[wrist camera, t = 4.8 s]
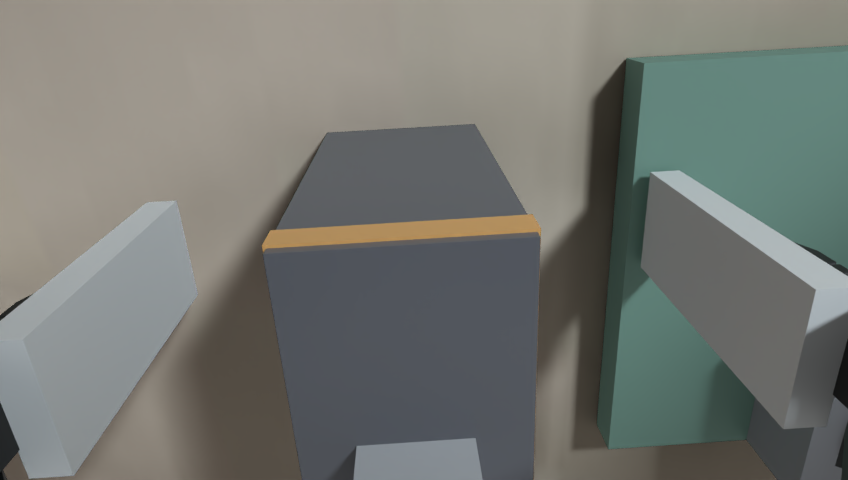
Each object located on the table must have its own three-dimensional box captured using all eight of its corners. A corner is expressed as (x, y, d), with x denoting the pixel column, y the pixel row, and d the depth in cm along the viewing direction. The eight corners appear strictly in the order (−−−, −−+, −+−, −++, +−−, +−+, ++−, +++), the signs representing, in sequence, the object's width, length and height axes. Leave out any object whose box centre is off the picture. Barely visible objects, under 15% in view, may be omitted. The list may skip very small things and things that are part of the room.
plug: (325, 131, 16) (237, 290, 7) (476, 122, 16) (565, 269, 7) (344, 297, 18) (293, 576, 9) (479, 289, 18) (551, 558, 9)
